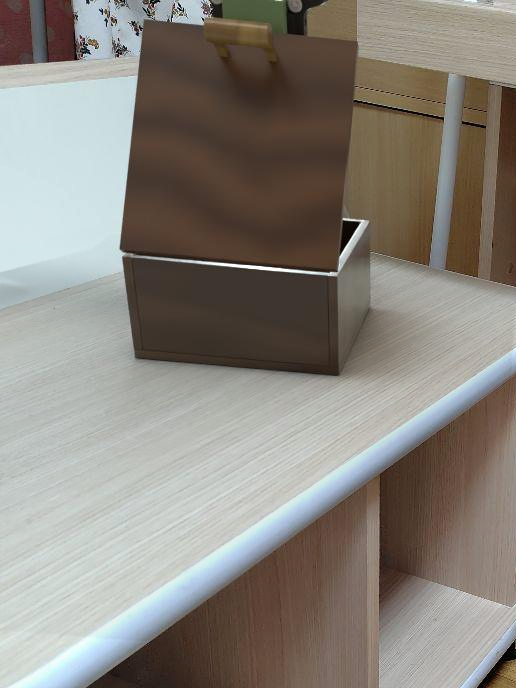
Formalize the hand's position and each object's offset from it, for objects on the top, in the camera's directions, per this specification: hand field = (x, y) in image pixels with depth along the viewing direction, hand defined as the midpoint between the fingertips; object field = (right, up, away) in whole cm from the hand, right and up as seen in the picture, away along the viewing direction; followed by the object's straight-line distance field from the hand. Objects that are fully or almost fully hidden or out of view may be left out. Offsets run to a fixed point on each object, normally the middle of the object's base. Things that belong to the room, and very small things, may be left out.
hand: (261, 55), depth 86 cm
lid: (-1, -10, -4) cm, 10 cm away
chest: (-2, -22, +8) cm, 24 cm away
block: (0, 0, 0) cm, 0 cm away
